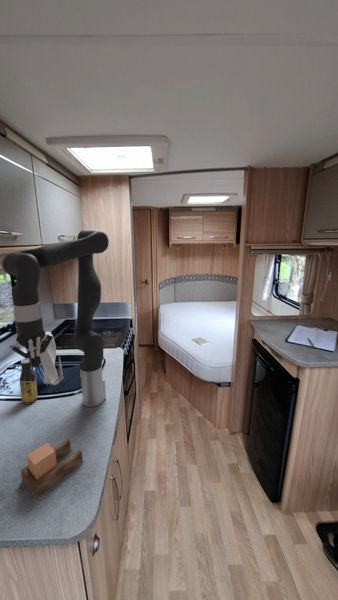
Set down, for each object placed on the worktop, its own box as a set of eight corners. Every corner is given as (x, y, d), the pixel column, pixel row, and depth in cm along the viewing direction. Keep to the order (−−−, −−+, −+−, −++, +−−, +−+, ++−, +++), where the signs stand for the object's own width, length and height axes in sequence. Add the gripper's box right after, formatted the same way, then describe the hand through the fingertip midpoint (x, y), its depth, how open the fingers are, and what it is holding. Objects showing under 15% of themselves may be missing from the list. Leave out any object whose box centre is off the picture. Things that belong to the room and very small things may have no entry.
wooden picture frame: (69, 448, 86) (68, 439, 85) (82, 461, 81) (81, 451, 80) (22, 480, 74) (20, 470, 74) (35, 498, 69) (33, 487, 68)
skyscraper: (54, 387, 122) (48, 334, 115) (39, 385, 123) (32, 333, 117) (64, 378, 130) (59, 328, 123) (50, 376, 131) (44, 327, 125)
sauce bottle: (18, 404, 109) (12, 363, 104) (29, 395, 115) (23, 356, 110) (31, 406, 108) (26, 365, 103) (41, 397, 114) (36, 358, 109)
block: (50, 465, 79) (47, 442, 77) (58, 474, 76) (55, 451, 74) (30, 479, 75) (26, 455, 72) (38, 489, 72) (34, 464, 69)
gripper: (43, 310, 85) (49, 355, 89) (0, 320, 75) (9, 371, 79) (54, 314, 81) (60, 362, 85) (10, 325, 70) (19, 379, 75)
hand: (35, 366), depth 82 cm, fingers closed
